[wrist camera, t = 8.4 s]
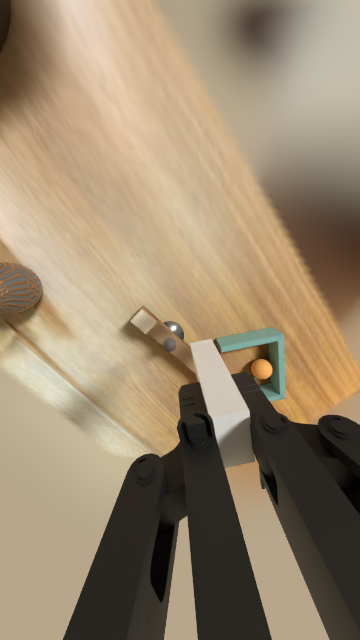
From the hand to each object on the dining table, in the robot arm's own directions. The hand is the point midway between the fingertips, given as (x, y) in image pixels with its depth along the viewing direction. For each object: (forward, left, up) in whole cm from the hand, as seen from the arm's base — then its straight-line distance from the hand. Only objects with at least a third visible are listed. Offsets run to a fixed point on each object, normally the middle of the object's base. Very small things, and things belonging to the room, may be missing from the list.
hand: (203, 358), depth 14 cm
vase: (-7, -23, -21) cm, 32 cm away
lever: (+9, -2, -20) cm, 22 cm away
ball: (+15, +12, -19) cm, 27 cm away
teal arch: (+15, +10, -21) cm, 27 cm away
